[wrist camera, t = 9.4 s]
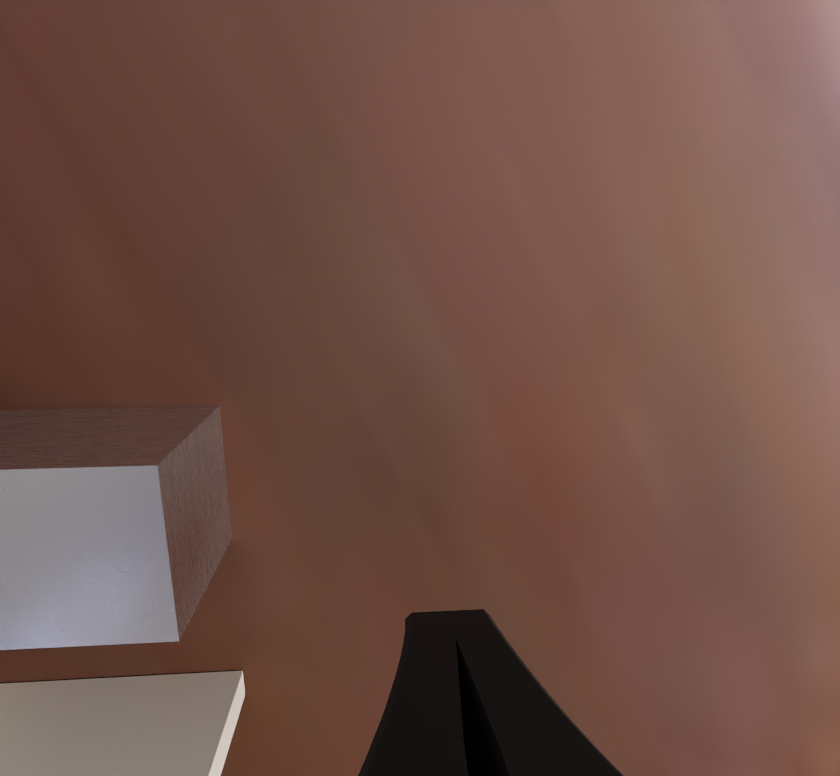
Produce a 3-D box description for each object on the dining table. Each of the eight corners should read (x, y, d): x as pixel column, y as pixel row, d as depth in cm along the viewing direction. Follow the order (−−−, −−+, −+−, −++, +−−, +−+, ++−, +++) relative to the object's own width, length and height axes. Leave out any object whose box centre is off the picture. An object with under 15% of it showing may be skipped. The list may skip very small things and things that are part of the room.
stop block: (232, 537, 18) (179, 641, 13) (-25, 546, 18) (-179, 658, 13) (220, 404, 17) (157, 465, 12) (-54, 410, 17) (-234, 476, 12)
